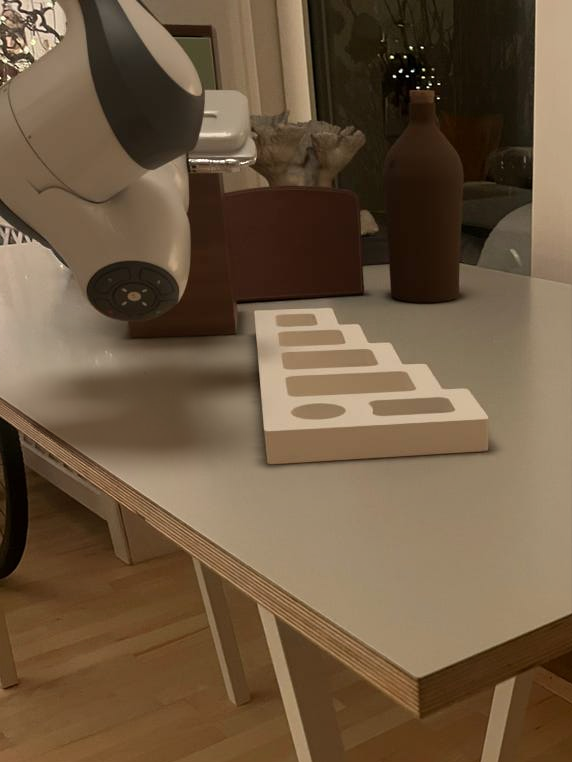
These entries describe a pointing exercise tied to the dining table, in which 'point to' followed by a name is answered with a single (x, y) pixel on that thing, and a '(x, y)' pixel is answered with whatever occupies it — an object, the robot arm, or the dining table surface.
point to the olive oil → (423, 208)
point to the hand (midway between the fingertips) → (136, 76)
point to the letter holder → (295, 242)
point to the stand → (201, 245)
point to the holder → (353, 395)
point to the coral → (312, 164)
